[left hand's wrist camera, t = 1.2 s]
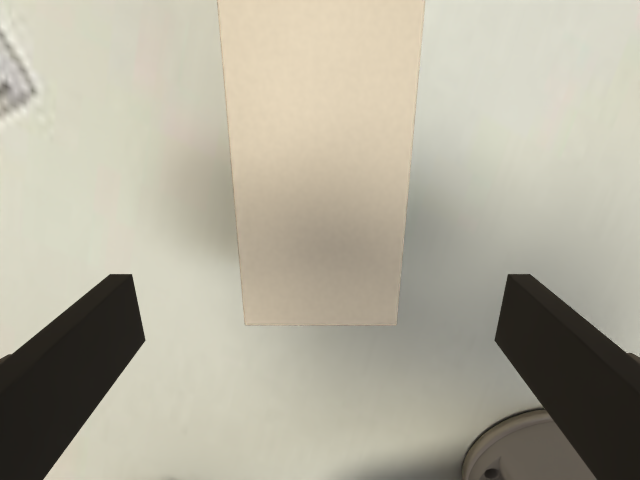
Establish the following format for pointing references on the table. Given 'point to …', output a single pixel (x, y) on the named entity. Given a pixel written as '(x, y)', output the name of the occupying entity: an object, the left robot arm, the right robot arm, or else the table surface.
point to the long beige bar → (320, 153)
